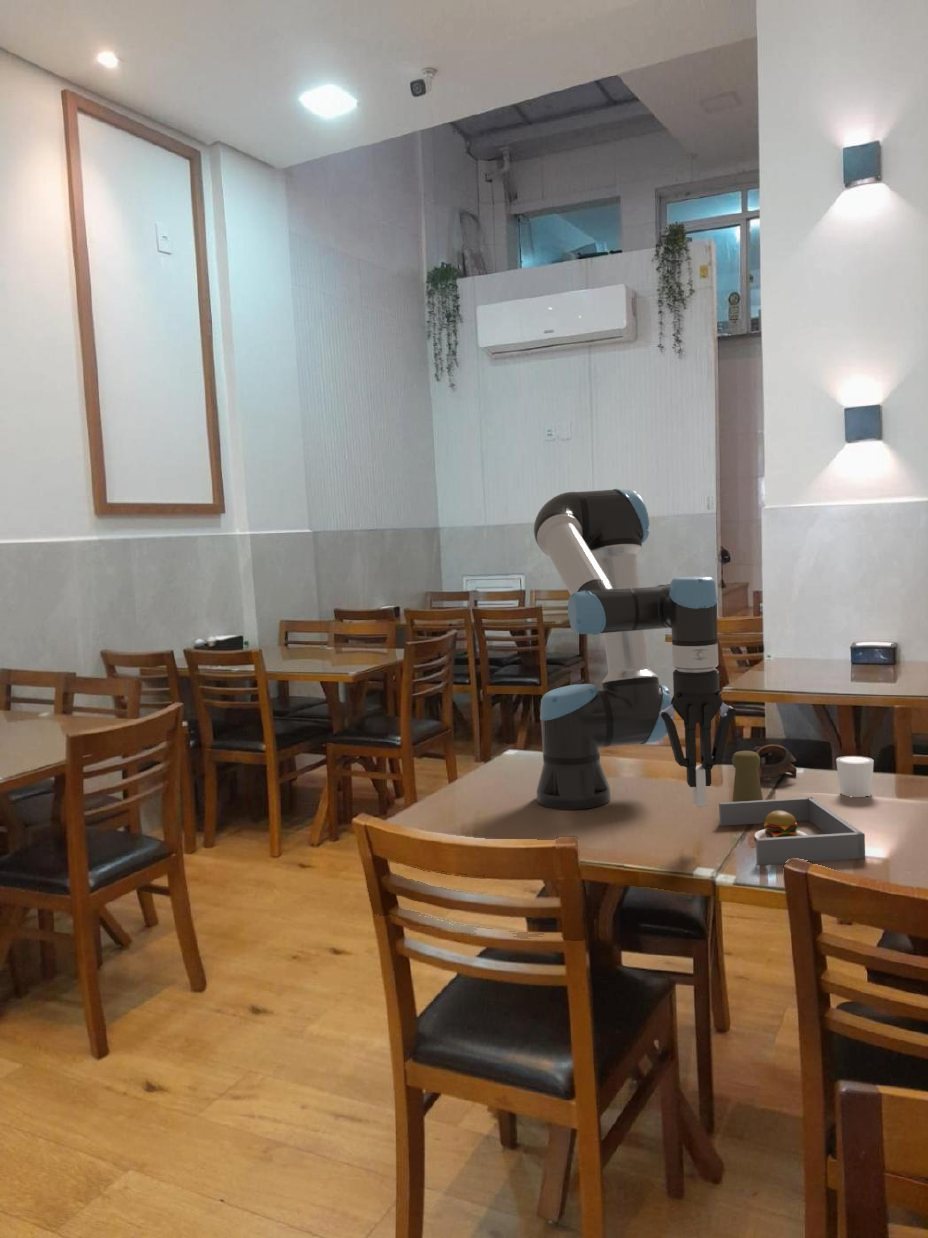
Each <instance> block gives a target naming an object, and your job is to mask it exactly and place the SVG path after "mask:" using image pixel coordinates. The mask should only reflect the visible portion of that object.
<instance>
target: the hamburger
mask: <svg viewBox="0 0 928 1238" xmlns="http://www.w3.org/2000/svg"><path fill="white" fill-rule="evenodd" d="M765 821H766V822H765V823H763V827H764V829H761V830H758V831H756V832H755V833H754V838H755V840H756V839H757V838H761V836H763V835H765V838H773V837H789V836H806V835H808V834H807V833H805V832H804V831H800V829H799V828H798V826H799V824H798V823H797V821H796V820H795V817H794V816H793V815H792V814H790V813H788V812H785V811H781V810H778V811H773V812H771V813H769V814H768V815H767V816H766V819H765Z"/></svg>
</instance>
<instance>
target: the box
mask: <svg viewBox="0 0 928 1238" xmlns="http://www.w3.org/2000/svg"><path fill="white" fill-rule="evenodd" d="M778 810H781V811H785V812H788V813H790V814H792V815H793V816H794V817H795V820H796V822H803V821H804V822H805V821H809V822H810V823H812V824H813V825H814V826H816V827H817V828H819V830H821V831H822V832H823V833H824V834H823V833H822V834H807V835H806V836H799V835H798V836H789V837H773V838H767V837H762V838H761V837H760V838H757V839H756V838H755V847H756V848H755V849H756V864H757V865H758V866H765V865H766V866H768V865H781V864H782V865H783V864H786V863H785V862H786V861H787V860H788V859H791V858H799V859H804V860H808V861H811V862H810V863H813V862H814V863H815V862H828V861H829V862H832V861H847V860H864V859H866V844H865V843H866V842H865V839H866V838H865V837H866V836H865V833H864V832H863V831H861V830H860V829H858V828H857V827H855V826H854V825H852V824H851V823H849V822H848V821H846V819H844V818H842V817H841V816H839V815H838V814H837V813H835V812H834V811H833V810H831V809H830V808H828V807H827V806H825V804H824V805H823V804H822V803H821V802H820V801H818V800H817V799H815V798H814V797H812V796H809V797H792V798H790V797H789V798H776V799H774V798H772V799H763V800H757V801H740V802H732V801H726V802H724V801H723V802H718V812H719V813H718V815H719V826H721V827H724V826H740V825H741V826H743V825H758V824H759V825H760V824H765V822H766V821H765V819H766V816H767V815H768V814H769V813H771V812H773V811H778Z"/></svg>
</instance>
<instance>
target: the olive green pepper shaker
mask: <svg viewBox="0 0 928 1238" xmlns="http://www.w3.org/2000/svg"><path fill="white" fill-rule="evenodd" d="M731 763H732V766H733V768H734V769H735V770H734V778H733V779H734V782H733V791H732V800H731V802H740V801H757V800H764V798H763V792H762V787H761V781H760V780H759V774H758V768H759V766H760V757H759V755H758V754H757V753H756V752H752V750H741V751H736V752H734V754H733V755H732V758H731Z"/></svg>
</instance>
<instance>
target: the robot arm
mask: <svg viewBox="0 0 928 1238" xmlns="http://www.w3.org/2000/svg"><path fill="white" fill-rule="evenodd" d="M647 509H648V508H647V506H646V504H645V502H644V500H643V498H642V496H641V495H640V494H639V493H638V492H636V491H635V490H633V489H618V488H613V489H605V490H604V489H602V490H589V491H586V490H585V491H569V492H568V491H567V492H564V493H560V494H557V495H556V496H554V497H552V498H551V499H550V500H548V501H547V502H546V503H545V504H544V505H543V506H542V508H540V510H539V511H538V514H537V516H536V518H535V521H534V525H533V535H534V539H535V541H536V544H537V546H538V548H539V549H540V551H541V552H542V553H543V554H544V555H546V556H548V557H550V560H551V562H552V563H553V565H554V567H555V569H556V571H557V573H558V575H559V576H560V578H561V580H562V582H563V584H564V585H565V587H566V589H567V591H568V593H569V595H570V596H569V598H568V603H567V616H568V621H569V625H570V628H571V629H572V631H573V632H574V633H576V634H577V635H578V634H580V635H585V634H586V635H588V634H591V635H599V634H603V637H604V646H605V657H606V664H607V675H606V676H605V677H604V679H603V680H602V683H601V684H602V685H601V686H602V690H598V688H597V686H596V685H595V684H592V683H582V684H570V685H565V686H560V687H557V688H554V689H552V690H550V691H547V692H546V693H545V694H544V695H543V696H542V698H541V699H540V715H539V719H540V723H541V724H540V725H541V742H542V755H543V760H542V761H543V766H542V769H541V773H540V776H539V779H538V783H537V787H536V801H537V803H538V804H539V805H541V806H543V807H545V808H546V807H547V808H549V809H550V808H551V809H556V810H557V809H558V810H583V809H585V810H586V809H592V808H597V807H601V806H603V805H606V804H607V803H609V802H610V801H611V797H612V796H611V787H610V784H609V781H608V780H607V776H606V773H605V771H604V768H603V766H602V765H603V764H602V763H601V753H600V750H601V748H608V747H610V748H611V747H619V746H631V745H645V744H649V743H657V742H660V741H662V740H663V739H665V738H666V736H668V738H669V739H668V740H669V743H670V746H671V750H672V753H673V756H674V760H675V762H676V763H677V764H678V765H679V766H680V767H684V768H685V769H686V783H687V785H688V786H689V788H692V791H693V793H692V795H693V800H692V801H693V804H694V806H696V807H697V808H707V787H711V785H712V769H713V767H714V766H716V765H720V764H722V762H723V758H724V753H725V749H726V744H727V740H728V736H729V730H730V726H731V722H732V721H733V719H734V717H735V715H736V713H737V710H736V709H735V708H734V707H732V706H731V705H727V704H726V703H724V702H723V698H722V697H721V694H720V671H719V670H718V669H717V667H718V666H719V644H718V641H719V640H718V638H719V637H718V634H719V633H718V600H719V599H718V595H717V586H716V583H717V582H716V581H715V579H714V578H713V577H711V576H700V575H698V576H697V575H696V576H695V575H694V576H692V575H691V576H681V577H675V578H673V579H672V580H671V582H670V584H669V583H667V584H658V585H655V586H649V587H648V586H646V587H640V581H639V571H638V570H639V569H638V563H637V562H638V561H637V557H638V555H639V554H640V553H641V552H642V550H643V543H645V542H647V540H648V539H649V538H648V537H649V535H650V528H649V527H650V519H649V513H648V510H647ZM660 629H661V630H662V629H671V647H672V648H671V649H672V666H673V668H675V669H674V670H673V672H672V683H673V696H672V695H671V694H670V690H669V688H668V687H667V686H666V685H664V684H660V683H659V681H660V680H659V676H658V675H657V674H656V673H655V672H654V671H652V670H651V668H650V663H649V654H648V652H649V651H648V644H647V637H646V630H648V631H649V630H660ZM675 712H676V713H677V715H678V716H679V717H680V719H681V720H682V721H683V727H684V741H685V743H684V747H685V751H684V752H685V753H684V752H683V748H682V744H681V741H680V738H679V733H678V731H677V727H676V724H675V721H674V720H675V718H676V716H675ZM717 713H718V715H719V719H718V723H717V729H716V732H715V737H714V741H713V746H712V736H711V735H712V733H711V729H712V720H713V719H714V717H715V716H716V714H717ZM697 724H698V727H699V746H700V763H701V764H700V765H699V764H698V765H697V744H696V743H697V741H696V737H697V736H696V729H697ZM684 754H685V755H684Z"/></svg>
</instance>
